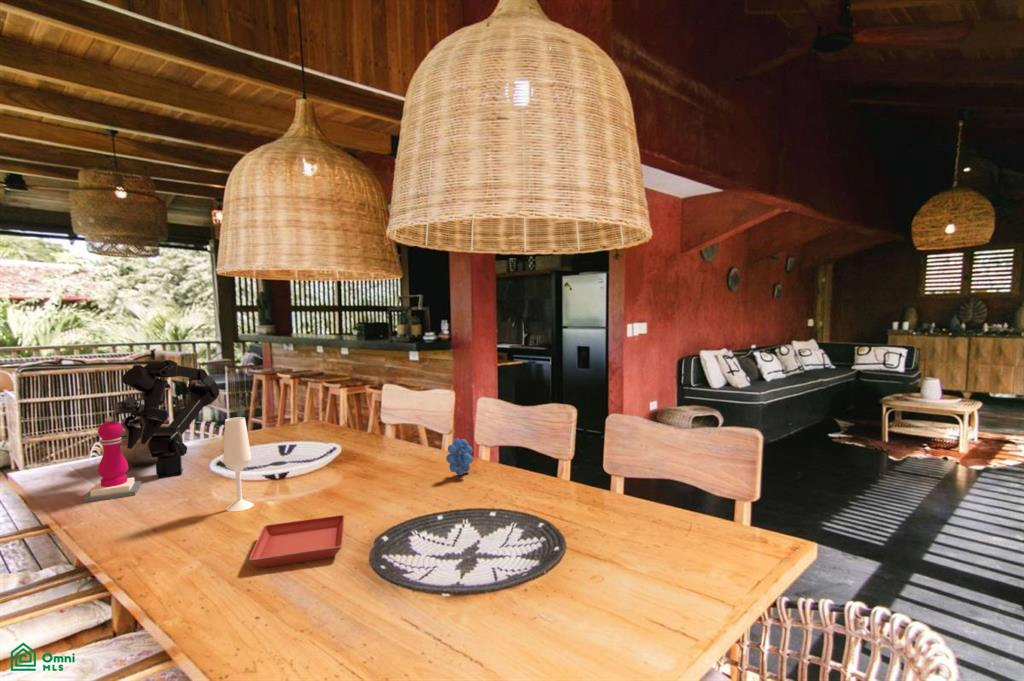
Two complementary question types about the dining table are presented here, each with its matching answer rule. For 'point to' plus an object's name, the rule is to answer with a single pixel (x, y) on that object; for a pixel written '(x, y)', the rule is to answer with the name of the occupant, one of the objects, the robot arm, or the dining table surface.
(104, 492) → the grey square coaster
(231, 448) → the champagne flute
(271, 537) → the plant saucer
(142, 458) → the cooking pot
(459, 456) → the grapes
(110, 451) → the pepper mill
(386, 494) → the dining table surface
